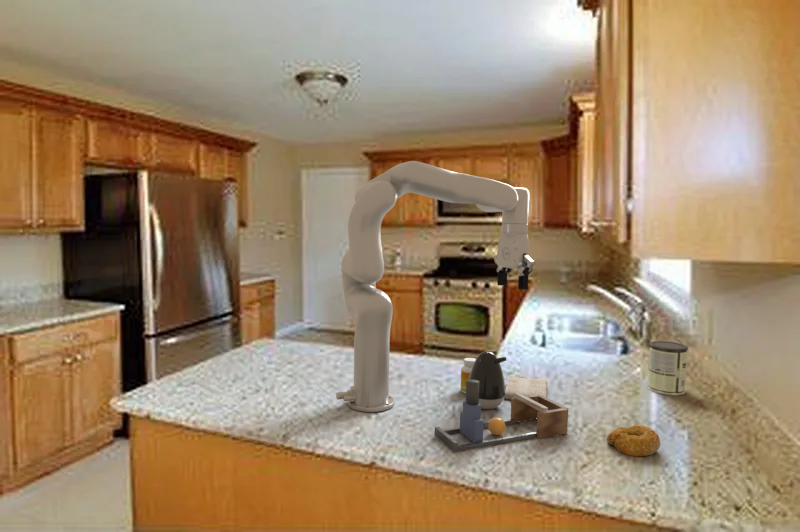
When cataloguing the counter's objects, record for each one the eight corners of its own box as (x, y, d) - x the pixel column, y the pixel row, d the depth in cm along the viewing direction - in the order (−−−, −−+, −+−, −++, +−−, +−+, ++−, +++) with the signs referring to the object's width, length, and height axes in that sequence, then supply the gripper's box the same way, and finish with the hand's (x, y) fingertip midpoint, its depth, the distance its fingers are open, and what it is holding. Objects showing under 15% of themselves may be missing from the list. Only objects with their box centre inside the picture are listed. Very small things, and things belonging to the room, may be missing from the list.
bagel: (616, 434, 122) (617, 415, 121) (665, 449, 114) (667, 429, 114) (599, 447, 114) (600, 426, 114) (650, 464, 107) (652, 442, 106)
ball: (494, 439, 117) (494, 422, 117) (484, 432, 121) (485, 416, 121) (508, 436, 119) (509, 420, 118) (498, 430, 122) (499, 413, 122)
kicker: (473, 443, 113) (475, 386, 112) (457, 431, 120) (459, 377, 119) (484, 441, 114) (486, 385, 113) (468, 430, 121) (470, 376, 120)
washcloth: (547, 386, 158) (547, 376, 158) (547, 406, 141) (548, 395, 141) (508, 382, 161) (508, 373, 161) (504, 401, 144) (504, 390, 144)
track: (454, 452, 110) (454, 443, 110) (434, 435, 119) (434, 426, 119) (536, 437, 119) (537, 429, 119) (512, 422, 127) (513, 414, 127)
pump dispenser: (497, 416, 132) (499, 358, 130) (460, 407, 137) (462, 352, 136) (510, 404, 140) (513, 350, 139) (475, 397, 146) (477, 345, 144)
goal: (539, 439, 118) (540, 408, 117) (510, 421, 128) (511, 393, 128) (568, 433, 121) (570, 404, 121) (538, 416, 132) (539, 389, 131)
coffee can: (646, 382, 162) (649, 339, 161) (683, 387, 158) (686, 343, 157) (647, 392, 153) (650, 346, 152) (686, 397, 149) (689, 350, 148)
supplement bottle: (478, 395, 147) (479, 362, 146) (459, 393, 148) (460, 361, 147) (479, 389, 152) (480, 357, 152) (461, 388, 154) (462, 356, 153)
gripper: (486, 229, 157) (484, 284, 158) (523, 230, 141) (521, 291, 143) (506, 229, 160) (504, 283, 161) (544, 230, 145) (541, 290, 146)
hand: (512, 287), depth 152 cm, fingers open, 9 cm apart
